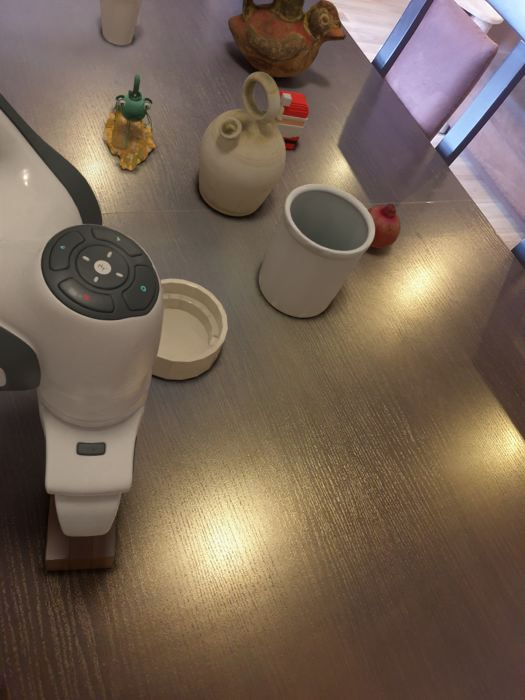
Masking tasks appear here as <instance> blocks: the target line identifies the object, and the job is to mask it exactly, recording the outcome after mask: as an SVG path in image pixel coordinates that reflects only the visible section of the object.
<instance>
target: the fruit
mask: <svg viewBox="0 0 525 700" xmlns="http://www.w3.org/2000/svg"><path fill="white" fill-rule="evenodd" d="M367 210H368V211H369V213H370V215H371V216H372V219H373V221H374V225H375V236H374V239H373V241H372V243H371V245H370V247H372V248H380V249H383V248H387V247H389V246H392V245H393V244H394V243H395V242H396V241H397V239H398V237H399V235H400V233H401V218H400V216H399V215H398V213H397V209H396V206H395V205H394V204H393V203H388V204H386V205H385V206H384V205H376V206H375V205H374V206H372V207H370V208H367Z"/></svg>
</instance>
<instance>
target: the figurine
mask: <svg viewBox="0 0 525 700" xmlns="http://www.w3.org/2000/svg"><path fill="white" fill-rule="evenodd" d="M279 94H280V105H283V107H284V112H283V115H282V121H281V122H279V123H278V124H277V128H278V130H279V131H280V133H281V135H282V137H283V140H284V143H285V149H286V150H294V149H295V145H297V144H298V142H300V138H301V137H302V136H303V133H304V131H305V129H306V123H307V122H308V120H309V118H308V116H309V114H310V108H309V105H308V101H307V99H306V96H305V95H306V94H304V93H301V92H300V93H298V92H294V91H289V90H282V89H281V90H279ZM266 111H267V110H262V112H263V113H266Z"/></svg>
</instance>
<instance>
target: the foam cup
mask: <svg viewBox="0 0 525 700" xmlns="http://www.w3.org/2000/svg"><path fill="white" fill-rule="evenodd" d="M142 2H143V0H99V7H100V19H101V30H102V36H103V38H104V39H105V40H106V41H107V42H109V43H111V44H113V45H117V46H128V45H129V44H131V43H132V41H133V38H134V34H135V31H136V26H137V23H138V18H139V14H140V10H141V7H142Z"/></svg>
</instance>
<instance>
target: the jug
mask: <svg viewBox="0 0 525 700" xmlns="http://www.w3.org/2000/svg"><path fill="white" fill-rule="evenodd" d="M257 84H259V85H260V86H261V88H262V89H263V91H264V93H265V95H266V100H267V106H266V110H265V111H266V113H263V110H261V108H260V107H259V106H258V104H257V103H256V100H255V94H254V93H255V86H256V85H257ZM241 87H242V88H241V100H242V104H243V107H244V109H243V108H240V109H239V108H237V109H231V110H226V111H224V112H222V113H220V114H219V115H218V116H216V117H215V118H214V119H213V120H212V121H211V122H210V123H209V125H208V126H207V128H206V129H205V131H204V133H203V135H202V138H201V140H200V141H201V142H200V145H199V146H200V147H199V157H198V163H199V164H198V165H199V166H198V167H199V168H198V189H199V193H200V196H201V198H202V199H203V201H204V202H205V203H206V204H208V206H209V207H210V208H211V209H213V210H215V211H217V212H219V213H221V214H223V215H226V216H231V217H244V216H248V215H251V214H253V213H254V212H256V211H257V210H258V209H259V208H260V207H261V206H262V205H263V203H264V202H265V201H266V199H267V198H268V196H269V195H270V193H272V191H273V190H274V188H275V186H276V185H277V184H278V182H279V180H280V179H281V177H282V175H283V173H284V169H285V165H286V161H287V160H286V159H287V148H285V143H284V140H283V137H282V135H281V133H280V131H279V130H278V128H277V124H278V123H279V122H281V121H282V115H283V112H284V107H283V105H280V94H279V91H280V90H279V87H278V84H277V83H276V81H275V79H274V77H271V76H270V75H268V74H267V73H264V72H259V71H255V72H253V73H250V74H249V75H248V76H247V77H246V79H245V80H244V82H243V85H242V86H241Z"/></svg>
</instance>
